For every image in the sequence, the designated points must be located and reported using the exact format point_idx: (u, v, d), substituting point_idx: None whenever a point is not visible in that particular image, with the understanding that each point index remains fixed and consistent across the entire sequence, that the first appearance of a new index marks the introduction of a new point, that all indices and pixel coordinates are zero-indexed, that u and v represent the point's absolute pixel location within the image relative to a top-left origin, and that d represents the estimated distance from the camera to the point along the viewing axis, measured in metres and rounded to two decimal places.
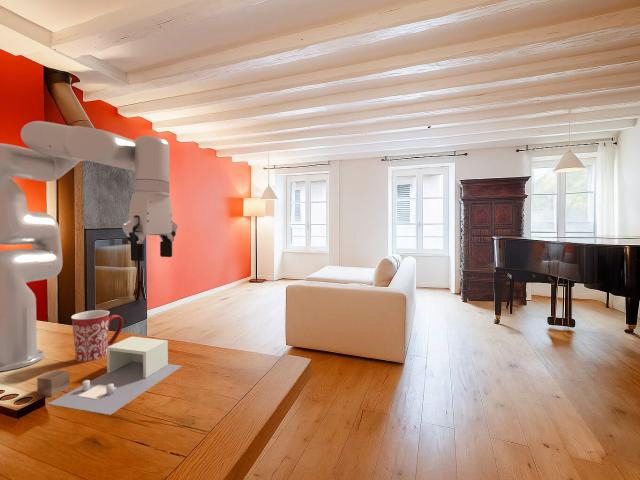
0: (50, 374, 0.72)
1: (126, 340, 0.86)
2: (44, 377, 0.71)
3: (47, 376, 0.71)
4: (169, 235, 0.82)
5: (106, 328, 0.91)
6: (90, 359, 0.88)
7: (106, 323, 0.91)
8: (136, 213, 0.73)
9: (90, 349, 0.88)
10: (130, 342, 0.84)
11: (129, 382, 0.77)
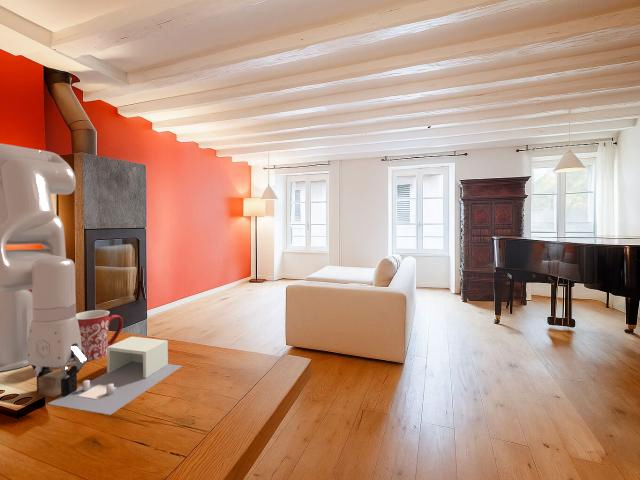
0: (51, 374, 0.72)
1: (126, 340, 0.86)
2: (45, 377, 0.71)
3: (48, 376, 0.71)
4: None
5: (106, 328, 0.91)
6: (90, 359, 0.88)
7: (106, 323, 0.91)
8: (73, 341, 0.71)
9: (90, 349, 0.88)
10: (130, 342, 0.84)
11: (129, 382, 0.77)
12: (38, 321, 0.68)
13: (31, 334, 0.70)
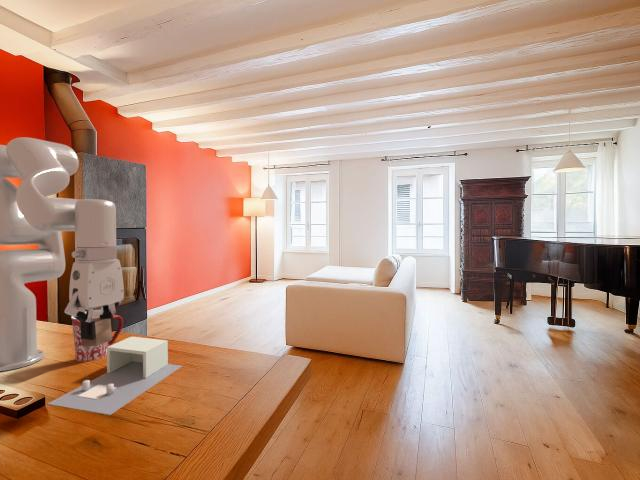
0: None
1: (126, 340, 0.86)
2: (97, 322, 0.70)
3: (97, 321, 0.71)
4: None
5: None
6: (90, 359, 0.88)
7: None
8: None
9: (90, 349, 0.88)
10: (130, 342, 0.84)
11: (129, 382, 0.77)
12: (111, 258, 0.70)
13: (93, 276, 0.67)
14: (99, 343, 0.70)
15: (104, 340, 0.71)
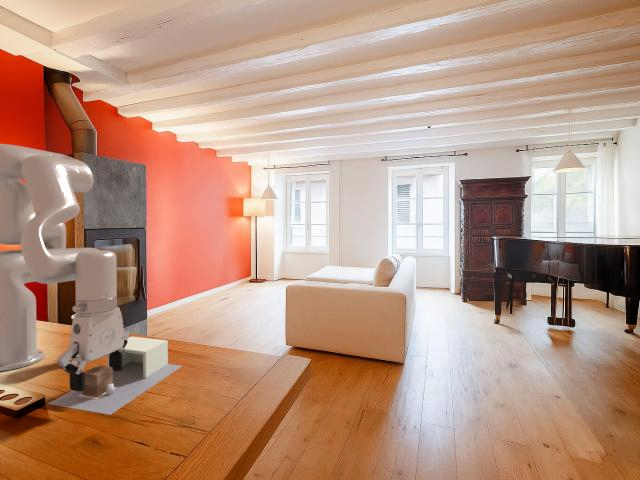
0: (94, 371, 0.71)
1: None
2: (99, 372, 0.71)
3: (99, 371, 0.71)
4: None
5: None
6: None
7: None
8: None
9: None
10: (130, 342, 0.84)
11: (129, 382, 0.77)
12: (111, 309, 0.71)
13: (93, 329, 0.68)
14: (100, 394, 0.71)
15: (105, 390, 0.72)
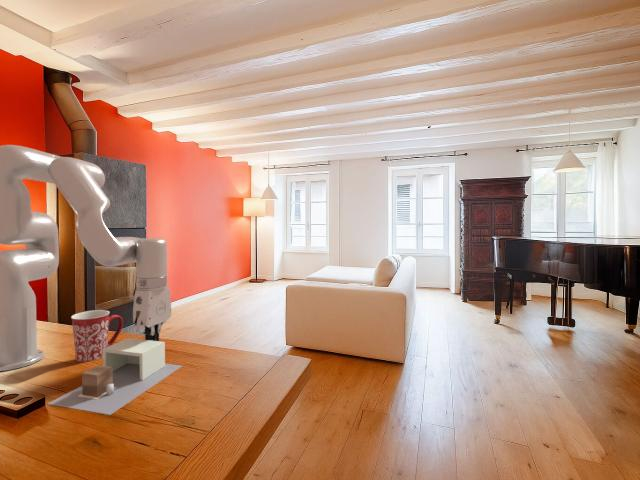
0: (94, 371, 0.71)
1: (123, 342, 0.85)
2: (99, 372, 0.71)
3: (99, 371, 0.71)
4: None
5: (106, 328, 0.91)
6: (90, 359, 0.88)
7: (106, 323, 0.91)
8: None
9: (90, 349, 0.88)
10: (127, 344, 0.83)
11: (129, 382, 0.77)
12: (164, 286, 0.88)
13: (151, 300, 0.84)
14: (100, 394, 0.71)
15: (105, 390, 0.72)
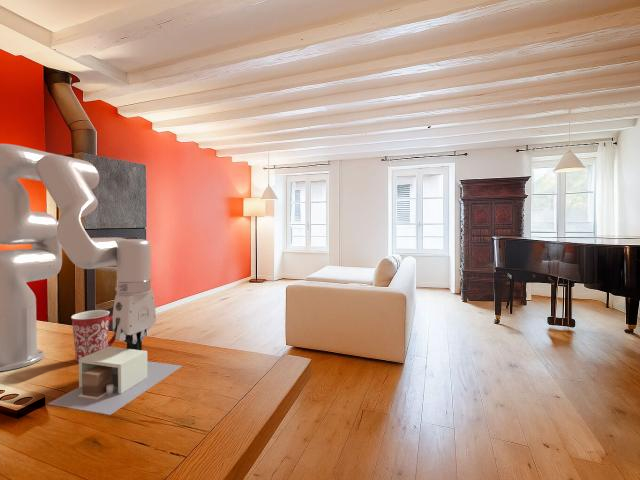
0: (94, 371, 0.71)
1: (102, 351, 0.78)
2: (99, 372, 0.71)
3: (99, 371, 0.71)
4: None
5: (106, 328, 0.91)
6: None
7: (106, 323, 0.91)
8: None
9: (90, 349, 0.88)
10: (105, 353, 0.77)
11: None
12: (147, 290, 0.81)
13: (133, 306, 0.78)
14: (100, 394, 0.71)
15: (105, 390, 0.72)
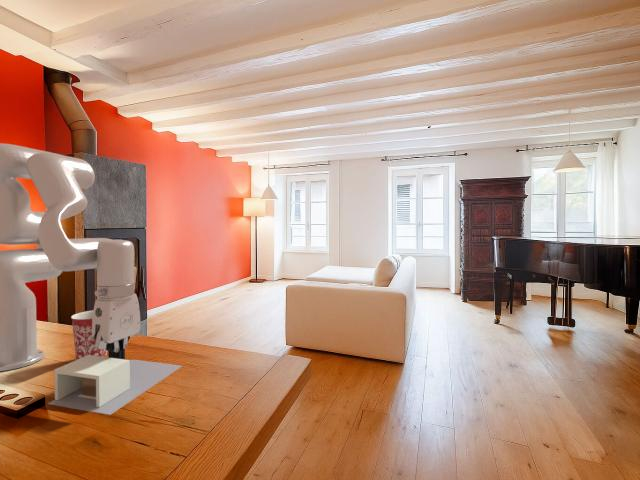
0: None
1: (80, 360, 0.73)
2: None
3: None
4: None
5: None
6: None
7: None
8: None
9: (90, 349, 0.88)
10: (84, 363, 0.72)
11: None
12: (130, 295, 0.76)
13: (114, 312, 0.73)
14: None
15: None
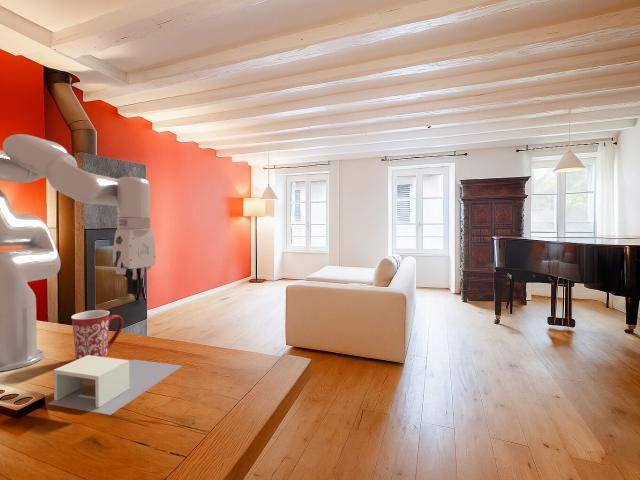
0: None
1: (80, 360, 0.73)
2: None
3: None
4: None
5: (106, 328, 0.91)
6: None
7: (106, 323, 0.91)
8: None
9: (90, 349, 0.88)
10: (84, 363, 0.72)
11: (129, 382, 0.77)
12: (147, 228, 0.83)
13: (132, 241, 0.80)
14: None
15: None
